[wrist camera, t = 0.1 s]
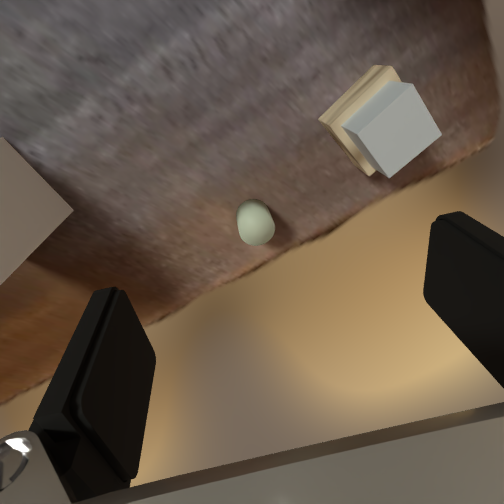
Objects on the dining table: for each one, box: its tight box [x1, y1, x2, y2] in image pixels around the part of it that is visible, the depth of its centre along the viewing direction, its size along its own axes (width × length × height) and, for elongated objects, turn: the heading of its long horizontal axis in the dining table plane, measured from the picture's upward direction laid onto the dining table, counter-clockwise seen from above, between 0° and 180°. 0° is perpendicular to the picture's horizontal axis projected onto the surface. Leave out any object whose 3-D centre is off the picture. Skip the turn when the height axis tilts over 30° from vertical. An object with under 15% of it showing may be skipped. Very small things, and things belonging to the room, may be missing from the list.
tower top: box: [341, 81, 442, 178], centre depth 38 cm, size 7×7×5 cm
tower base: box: [318, 65, 401, 176], centre depth 43 cm, size 9×9×5 cm
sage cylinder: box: [236, 199, 275, 246], centre depth 48 cm, size 5×5×5 cm
